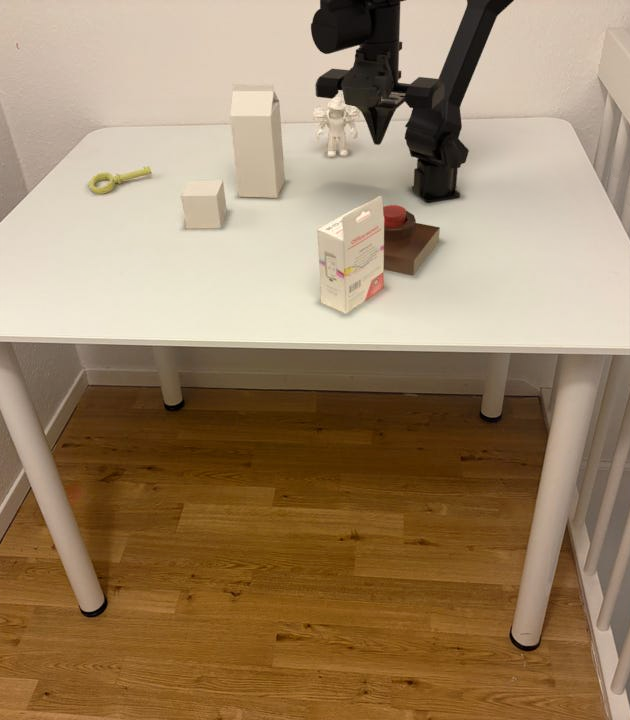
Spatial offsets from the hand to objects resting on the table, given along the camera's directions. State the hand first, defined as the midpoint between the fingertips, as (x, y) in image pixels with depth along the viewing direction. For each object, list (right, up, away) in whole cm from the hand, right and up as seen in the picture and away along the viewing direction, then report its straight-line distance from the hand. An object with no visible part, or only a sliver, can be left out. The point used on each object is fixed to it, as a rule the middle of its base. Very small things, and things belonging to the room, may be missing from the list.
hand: (377, 143), depth 113 cm
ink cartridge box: (-5, -25, -10) cm, 27 cm away
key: (-47, 0, +26) cm, 53 cm away
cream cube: (-28, -10, +12) cm, 32 cm away
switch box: (+1, -17, -1) cm, 17 cm away
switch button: (+2, -12, -2) cm, 13 cm away
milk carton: (-19, -3, +20) cm, 28 cm away
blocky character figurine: (-4, +7, +31) cm, 32 cm away
